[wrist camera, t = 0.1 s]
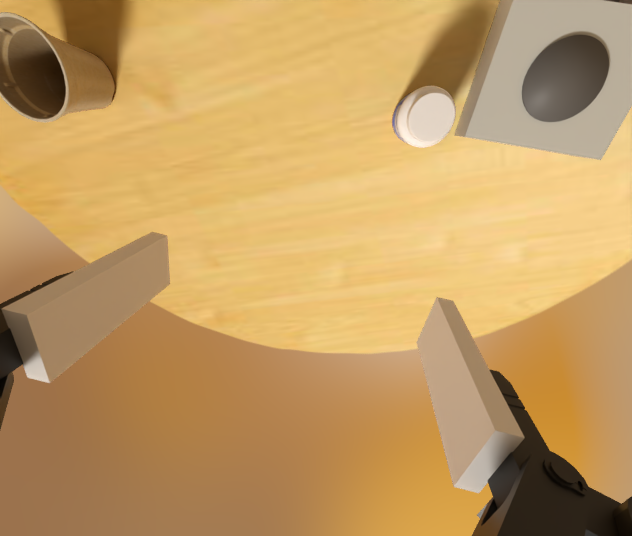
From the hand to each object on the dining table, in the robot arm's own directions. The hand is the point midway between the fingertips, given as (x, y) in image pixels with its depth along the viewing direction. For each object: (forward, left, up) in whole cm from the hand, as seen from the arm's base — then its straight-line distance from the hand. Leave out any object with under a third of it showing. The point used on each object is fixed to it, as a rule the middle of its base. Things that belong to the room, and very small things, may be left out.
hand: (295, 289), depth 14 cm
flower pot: (-7, -33, -28) cm, 44 cm away
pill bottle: (-9, +8, -28) cm, 30 cm away
